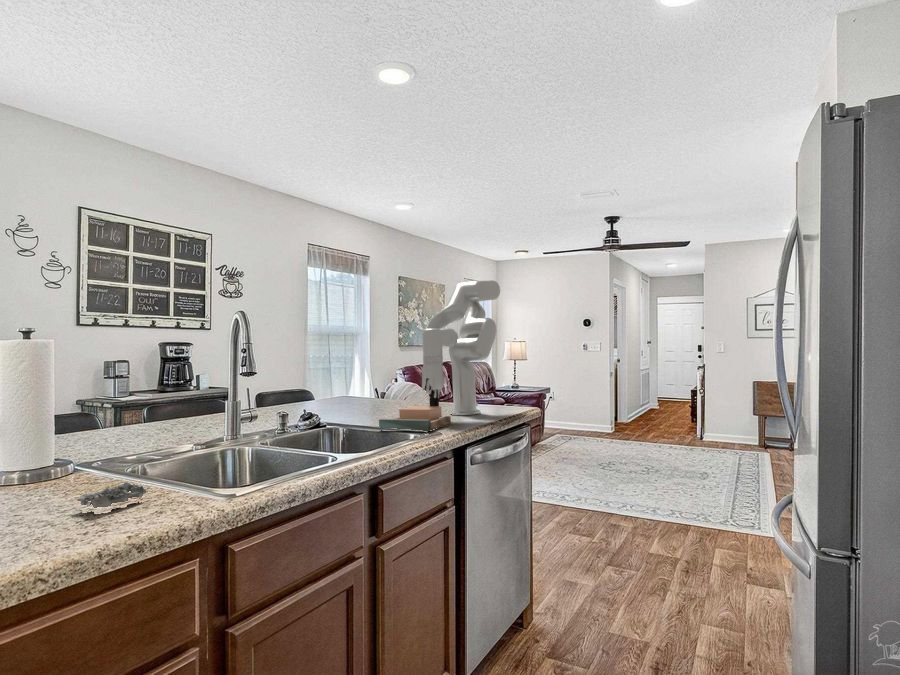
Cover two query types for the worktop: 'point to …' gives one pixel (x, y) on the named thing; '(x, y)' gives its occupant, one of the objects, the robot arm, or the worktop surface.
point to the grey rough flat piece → (112, 495)
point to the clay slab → (421, 412)
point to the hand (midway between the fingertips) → (434, 408)
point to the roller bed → (414, 423)
